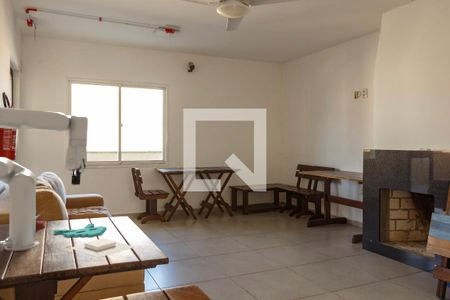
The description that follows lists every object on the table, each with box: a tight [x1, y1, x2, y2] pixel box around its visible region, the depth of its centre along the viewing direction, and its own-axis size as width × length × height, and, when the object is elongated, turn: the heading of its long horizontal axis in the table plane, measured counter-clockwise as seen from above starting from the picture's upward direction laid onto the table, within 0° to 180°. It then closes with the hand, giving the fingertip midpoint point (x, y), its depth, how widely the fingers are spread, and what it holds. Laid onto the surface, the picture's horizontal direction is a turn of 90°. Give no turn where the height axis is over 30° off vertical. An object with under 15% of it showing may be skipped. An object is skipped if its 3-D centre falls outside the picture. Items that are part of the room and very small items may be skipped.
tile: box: [84, 238, 117, 251], centre depth 147 cm, size 9×2×9 cm
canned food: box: [36, 211, 47, 230], centre depth 180 cm, size 11×10×10 cm
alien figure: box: [53, 223, 108, 238], centre depth 171 cm, size 20×2×20 cm
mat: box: [69, 238, 135, 259], centre depth 146 cm, size 18×20×1 cm
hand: (75, 184), depth 155 cm, fingers closed
